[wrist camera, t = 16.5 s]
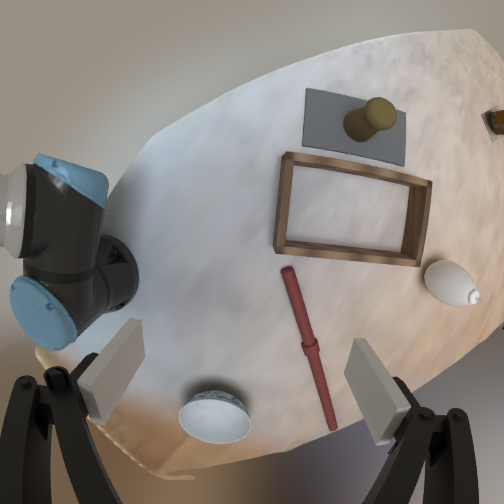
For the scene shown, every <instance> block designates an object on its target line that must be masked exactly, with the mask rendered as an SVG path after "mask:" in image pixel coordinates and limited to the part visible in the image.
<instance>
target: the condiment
mask: <svg viewBox="0 0 504 504" xmlns="http://www.w3.org/2000/svg"><path fill="white" fill-rule="evenodd" d="M482 117H483V120H484V122H485V125H486V127H487V130H488V132H489V134H490V137H491V139H492V142H494V141H495V140H497V139H498V138H499V137H501V136H502V135H504V110H501V111H497V110H496V108H495V107H494V108H492V109H491V110H489V111H487V112H486V113H484V114H482ZM493 132H494V133H493Z"/></svg>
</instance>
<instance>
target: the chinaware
mask: <svg viewBox="0 0 504 504" xmlns="http://www.w3.org/2000/svg"><path fill="white" fill-rule="evenodd" d="M179 421H180V424H181V426H182V427H183V429H184V430H185V431H186V432H187V433H189V434H190V435H191V436H193V437H195V438H197V439H199V440H202V441H205V442H209V443H215V444H227V443H233V442H236V441H239V440H241V439H242V438H244V437H245V436H246V435H247V434H248V433H249V431H250V429H251V420H250V416H249V414H248V411H247V410H246V408H245V406H244V405H243V404H242V403H241V402H240V401H239V400H238V399H237V398H235V397H234V396H232V395H230V394H228V393H226V392H223V391H220V390H213V391H205V392H201V393H199V394H196V395H195V396H193V397H192V398H190V399H189V400H188V401H187V402H186V403H185V404H184V406H183V407H182V409H181V410H180V413H179Z"/></svg>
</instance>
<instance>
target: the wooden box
mask: <svg viewBox="0 0 504 504" xmlns="http://www.w3.org/2000/svg"><path fill="white" fill-rule="evenodd" d="M293 165H298V166H306V167H313V168H319V169H326V170H332V171H338V172H344V173H349V174H355V175H360V176H365V177H370V178H375V179H380V180H384V181H389V182H393V183H398V184H402V185H406V186H410V190H409V200H408V208H407V216H406V223H405V230H404V236H403V242H402V248H401V253H399V252H390V251H381V250H373V249H364V248H355V247H346V246H337V245H327V244H318V243H308V242H298V241H288V240H285V239H286V230H287V221H288V212H289V203H290V194H291V184H292V174H293ZM431 193H432V181H429V180H426V179H422V178H418V177H415V176H411V175H407V174H403V173H399V172H395V171H391V170H387V169H383V168H378V167H374V166H369V165H364V164H360V163H355V162H350V161H344V160H339V159H333V158H327V157H321V156H315V155H308V154H301V153H294V152H286V153H285V154H284V155H283V156H282V164H281V174H280V184H279V194H278V204H277V213H276V223H275V232H274V241H273V247H274V250H275V253H276V254H285V255H295V256H306V257H317V258H327V259H338V260H348V261H359V262H369V263H380V264H390V265H401V266H411V267H420V265H421V260H422V255H423V250H424V244H425V239H426V233H427V226H428V219H429V211H430V203H431Z"/></svg>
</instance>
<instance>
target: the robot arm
mask: <svg viewBox="0 0 504 504" xmlns="http://www.w3.org/2000/svg"><path fill="white" fill-rule="evenodd" d="M33 163H34V164H20V165H19V166H18V167H16V168H15V169H14V170H13V171H12V172H11V173H10V174H8V175H0V247H4V248H5V249H7V251H8V252H9V253H10V254H11V255H12V256H13V258H15V259H16V258H23V276H19V277H17V278H16V280H15V281H14V283H13V284H12V285H11V288H10V303H11V307H12V310H13V313H14V315H15V317H16V320H17V321H18V323H19V325H20V326H21V328H22V329H23V330H24V332H25V333H26V334H27V335H28V337H29V338H30V339H32V340H33V341H34V342H35V343H36V344H38V345H39V346H41V347H43V348H45V349H47V350H51V351H59V350H62V349H64V348H65V347H66V346H68V345H69V344H70V343H73V342H75V341H76V339H77V337H78V336H80V335H81V334H82V333H83V332H84V331H85V330H86V329H87V328H88V327H89V326H90V325H91V324H92V323H93V322H94V321H95V320H96V319H98V318H99V317H100V316H101V315H102V314H104V313H109V312H114V311H117V310H120V309H122V308H123V307H124V306H126V305H127V304H128V303H129V302H130V301H131V300H132V299H133V297H134V295H135V294H136V291H137V288H138V282H139V275H138V269H137V265H136V262H135V260H134V257H133V256H132V254H131V252H130V251H129V250H128V248H127V247H126V246H125V245H124V244H123V243H122V242H120V241H119V240H118V239H116V238H114V237H111V236H108V235H100V234H101V228H102V222H103V217H104V211H105V210H106V208H107V207H106V199H107V193H108V187H109V183H108V179H107V177H106V176H105V175H104V174H103V173H101V172H98V171H95V170H92V169H88V168H85V167H82V166H79V165H76V164H73V163H69V162H66V161H63V160H60V159H56V158H53V157H50V156H46V155H43V154H37V155H36V157H35V159H34V160H33ZM144 357H145V352H144V343H143V332H142V320H138V319H133V318H130V319H129V320H128V322H127V323H126V324H125V325H124V326H123V327H122V328H121V329H120V331H119V332H118V333H117V334H116V335H115V336H114V337H113V339H112V340H111V341H110V342H109V343H108V344H107V345H106V347H105V348H104V349H103V350H102V351H101V352H100V354H97V353H94V352H93V353H91V354H89V355H87V356H86V357H85V358H84V359H83V360H82V361H81V363H79V365H78V367H76V368H75V369H74V370H73V371H72V372H71V374H70V375H69V373H68V371H67V369H65V368H64V367H60V366H55V367H51V368H49V369H47V370H46V371H45V373H44V379H45V382H46V384H47V386H43V385H38V384H37V381H36V380H35V378H34V377H32V376H28V375H27V376H21V377H19V378H18V379H17V380H16V382H15V384H14V388H13V390H12V393H11V397H10V400H9V404H8V407H7V411H6V415H5V419H4V423H3V427H2V432H1V437H0V504H52V500H51V479H50V457H51V436H52V424H53V425H55V428H56V433H57V437H58V441H59V445H60V449H61V452H62V456H63V459H64V463H65V466H66V469H67V472H68V475H69V478H70V481H71V483H72V486H73V489H74V492H75V494H76V497H77V499H78V502H79V504H123V503H122V502H121V500H120V498H119V496H118V494H117V492H116V490H115V489H114V487H113V484H112V482H111V480H110V478H109V477H108V474H107V472H106V470H105V468H104V466H103V463H102V461H101V459H100V456H99V454H98V452H97V449H96V447H95V444H94V442H93V439H92V436H91V434H90V431H89V428H88V425H87V422H86V420H85V418H86V417H87V415H88V414H89V417H90V419H91V421H92V422H94V423H97V424H100V425H103V426H105V424H106V423H107V421H108V419H109V417H110V416H111V414H112V412H113V410H114V408H115V407H116V405H117V403H118V402H119V400H120V398H121V396H122V395H123V393H124V391H125V389H126V388H127V386H128V384H129V383H130V381H131V379H132V378H133V376H134V374H135V372H136V371H137V369H138V367H139V366H140V364H141V362H142V361H143V359H144ZM344 375H345V377H346V379H347V381H348V383H349V386H350V388H351V390H352V392H353V394H354V397H355V399H356V401H357V403H358V406H359V408H360V410H361V412H362V414H363V417H364V419H365V421H366V423H367V426H368V428H369V430H370V433H371V435H372V437H373V439H374V442H375V444H376V446H377V445H383V444H388V443H389V442H390V441H391V439H392V438H393V436H394V437H395V439H396V442H395V444H394V445H393V446H392V448H391V449H390V451H389V452H388V454H389V456H388V458H387V460H386V462H385V464H384V466H383V468H382V470H381V472H380V473H379V475H378V477H377V479H376V481H375V483H374V484H373V486H372V488H371V490H370V491H369V493H368V495H367V496H366V498H365V500H364V501H363V503H362V504H408V503H409V501H410V498H411V496H412V494H413V491H414V489H415V486H416V484H417V481H418V478H419V475H420V473H421V470H422V467H423V464H424V461H425V460H426V461H425V462H426V463H425V483H424V495H423V504H479V491H478V477H477V467H476V460H475V452H474V446H473V440H472V435H471V429H470V424H469V420H468V416H467V414H466V413H465V412H464V411H463V410H461V409H459V408H452V409H450V410H449V412H448V413H447V415H435V413H434V412H433V411H432V410H431V409H429V408H425V407H421V406H420V405H419V403H418V402H417V400H416V399H415V397H414V396H413V395H412V393H410V390H409V389H408V388H407V386H406V384H405V383H404V382H403V381H402V380H401V379H399V378H398V377H391V375H390V374H389V372H388V371H387V369H386V368H385V366H384V365H383V363H382V362H381V360H380V359H379V358H378V356H377V355H376V353H375V352H374V350H373V349H372V348H371V346H370V345H369V343H368V342H367V340H366V339H365V338H354V342H353V345H352V348H351V352H350V355H349V358H348V362H347V365H346V368H345V371H344ZM425 458H426V459H425Z"/></svg>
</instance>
